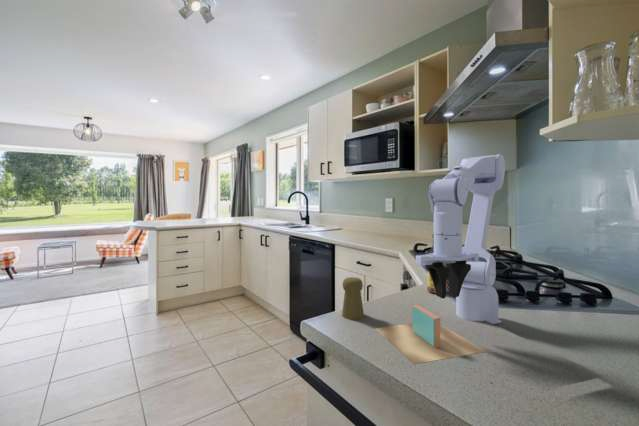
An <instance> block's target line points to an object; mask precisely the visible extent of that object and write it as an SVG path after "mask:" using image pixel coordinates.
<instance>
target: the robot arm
mask: <svg viewBox="0 0 639 426" xmlns="http://www.w3.org/2000/svg"><path fill="white" fill-rule="evenodd" d="M505 173H506V162H505V157H504V156H503V155H502V154H501V153H498V154H490V155H482V156H474V157H464V158H463V159H461V162H460V165H455V166H454V167H453V169H452V170H451V171H450V172H449V173H447V174H446V175H445V176H444V177H442V179H441V178H439V179H435V180H434V181H432V182H431V183H430V185H429V188H428V193H427V194H428V200H429V203H430V211H431V213H433V233H434V253H430V254H429V253H426V254H420V255H415V265H417V266H419V267H425V268H426V270H427V273H428V272H429V274H430V276H431V278H432V281H433V283H434V287H435V291H436V296H437V297H438V298H440V299H446V298H447V297H446V295H447V289H446V283H447V284H448V290H449V291H448V293H449V295H450V296H453V297H455V312H456V313H455V315H456V316H457V317H458V318H461V319H462V320H463V319H464V320H466V321H472V322H484V321H486V322H488V323H490V324H493V325H497V324H502V321H501V320H500V319H499V295H498V291H497V290H496V288H495V287H494V284H495V282H496V275H497V272H496V271H497V269H496V266H497V265H496V263H497V261H496V259H495V257H494V255H492V253H490V252H489V251H488V250H486V248H487V247H486V246H487V241H488V240H487V239H488V232H489V227H490V220H491V213H492V208H493V202H494V197H495V193H496V192H497V191H499V190H501V189H502V188H503V184H504V182H505V181H504V180H505ZM469 192H470V193H472V194H473V196H472V197H473V198H472V203H471V208H470V215H469V220H468V225H467V231H466V237H465V242H464V243H465V244H464V245H463V206H464V205H465V204H466V202H467V198H468V195H469ZM445 263H446V266H447V267H445V265H443V264H445Z"/></svg>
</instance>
